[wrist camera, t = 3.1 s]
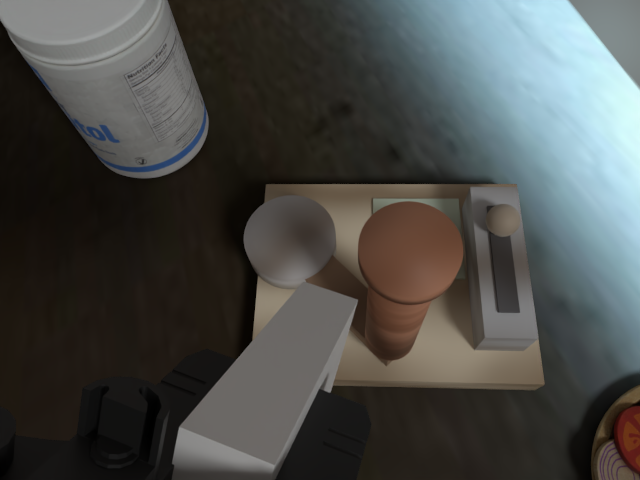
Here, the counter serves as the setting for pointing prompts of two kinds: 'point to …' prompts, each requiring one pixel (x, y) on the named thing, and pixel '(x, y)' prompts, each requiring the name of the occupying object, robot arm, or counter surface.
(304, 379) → the robot arm
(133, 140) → the supplement tub
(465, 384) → the stand
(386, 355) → the lever
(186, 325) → the counter surface
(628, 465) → the toy sandwich meal
